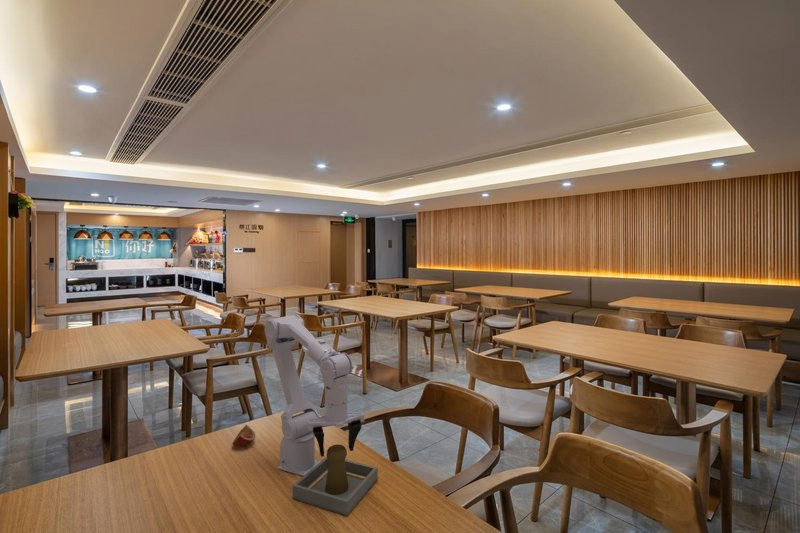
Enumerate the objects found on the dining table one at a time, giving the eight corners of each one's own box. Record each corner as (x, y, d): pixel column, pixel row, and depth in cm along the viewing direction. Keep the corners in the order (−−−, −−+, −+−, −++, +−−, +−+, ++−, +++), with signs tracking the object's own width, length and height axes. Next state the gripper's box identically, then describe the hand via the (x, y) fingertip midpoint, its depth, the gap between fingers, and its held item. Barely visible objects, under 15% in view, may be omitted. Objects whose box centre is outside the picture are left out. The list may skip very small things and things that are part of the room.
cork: (345, 495, 102) (345, 453, 102) (322, 494, 103) (322, 452, 102) (350, 481, 108) (350, 442, 108) (328, 480, 109) (328, 440, 108)
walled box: (292, 498, 102) (292, 485, 102) (328, 466, 116) (328, 455, 116) (347, 516, 95) (347, 502, 95) (377, 480, 110) (377, 467, 110)
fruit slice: (237, 439, 133) (236, 424, 133) (258, 437, 134) (257, 423, 133) (229, 452, 125) (229, 436, 124) (251, 450, 125) (251, 435, 125)
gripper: (310, 411, 98) (311, 465, 99) (367, 402, 103) (367, 454, 104) (306, 400, 105) (306, 451, 106) (360, 393, 110) (360, 441, 111)
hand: (336, 451), depth 105 cm, fingers open, 7 cm apart
